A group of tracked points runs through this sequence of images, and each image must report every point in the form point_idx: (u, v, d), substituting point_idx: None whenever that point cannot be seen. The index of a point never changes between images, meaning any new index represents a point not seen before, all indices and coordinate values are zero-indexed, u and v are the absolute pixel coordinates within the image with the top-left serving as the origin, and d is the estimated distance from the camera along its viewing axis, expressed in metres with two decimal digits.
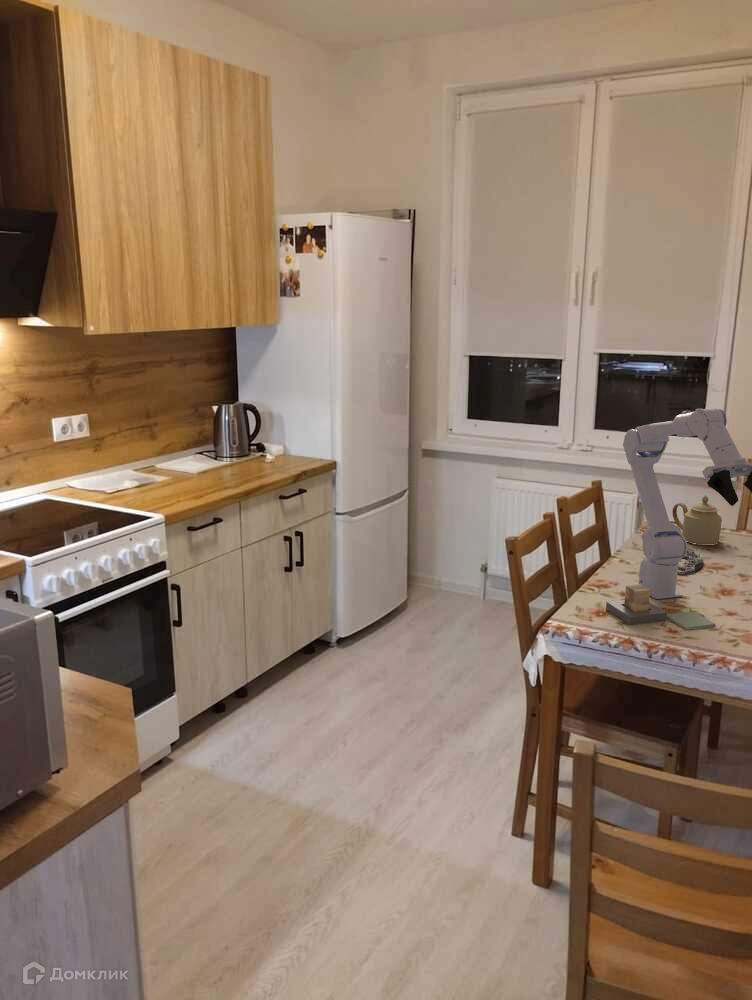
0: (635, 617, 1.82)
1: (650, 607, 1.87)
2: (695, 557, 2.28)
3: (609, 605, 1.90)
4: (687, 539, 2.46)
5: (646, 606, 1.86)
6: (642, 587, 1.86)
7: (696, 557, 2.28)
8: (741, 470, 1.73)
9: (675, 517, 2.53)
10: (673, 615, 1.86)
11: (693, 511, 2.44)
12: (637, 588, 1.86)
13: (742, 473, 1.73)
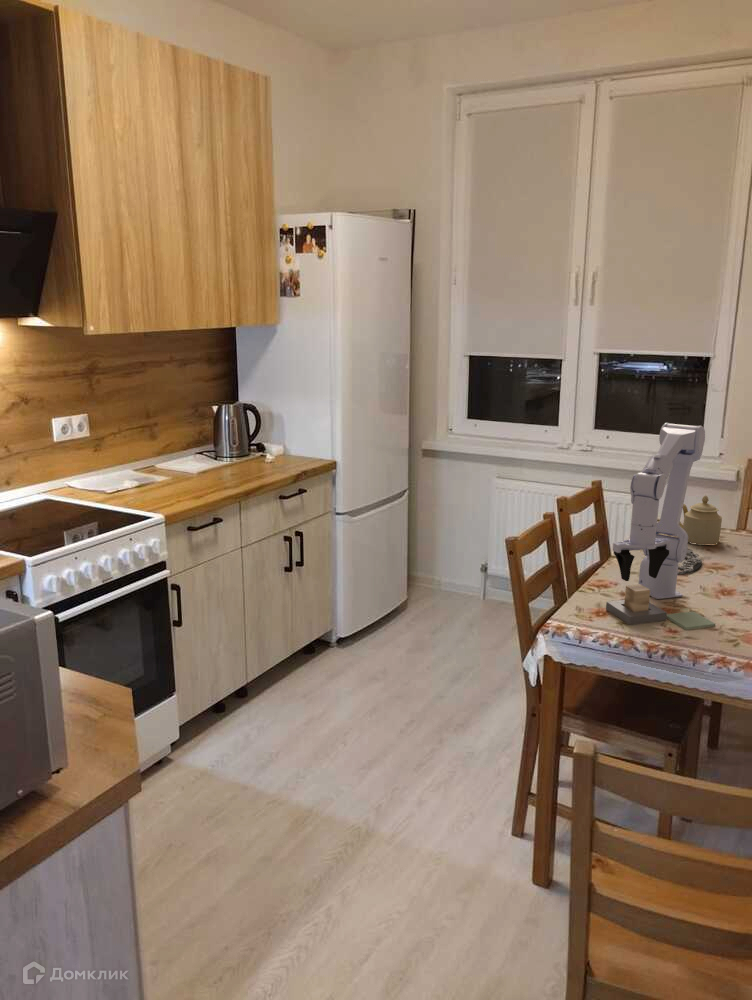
0: (635, 617, 1.82)
1: (650, 607, 1.87)
2: (693, 557, 2.28)
3: (609, 605, 1.90)
4: None
5: (646, 606, 1.86)
6: (642, 587, 1.86)
7: (694, 557, 2.28)
8: None
9: None
10: (673, 615, 1.86)
11: (693, 511, 2.44)
12: (637, 588, 1.86)
13: None
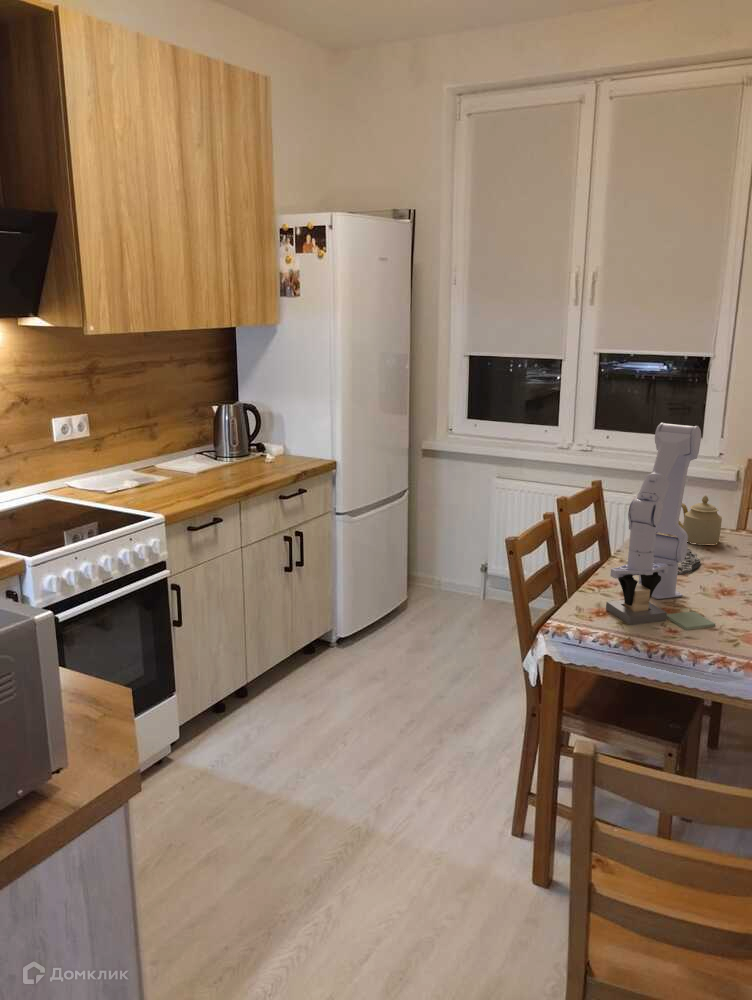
0: (635, 617, 1.82)
1: (650, 607, 1.87)
2: (692, 557, 2.28)
3: (609, 605, 1.90)
4: None
5: (646, 606, 1.86)
6: (642, 587, 1.86)
7: (693, 557, 2.28)
8: None
9: None
10: (673, 615, 1.86)
11: (693, 511, 2.44)
12: (637, 588, 1.86)
13: None
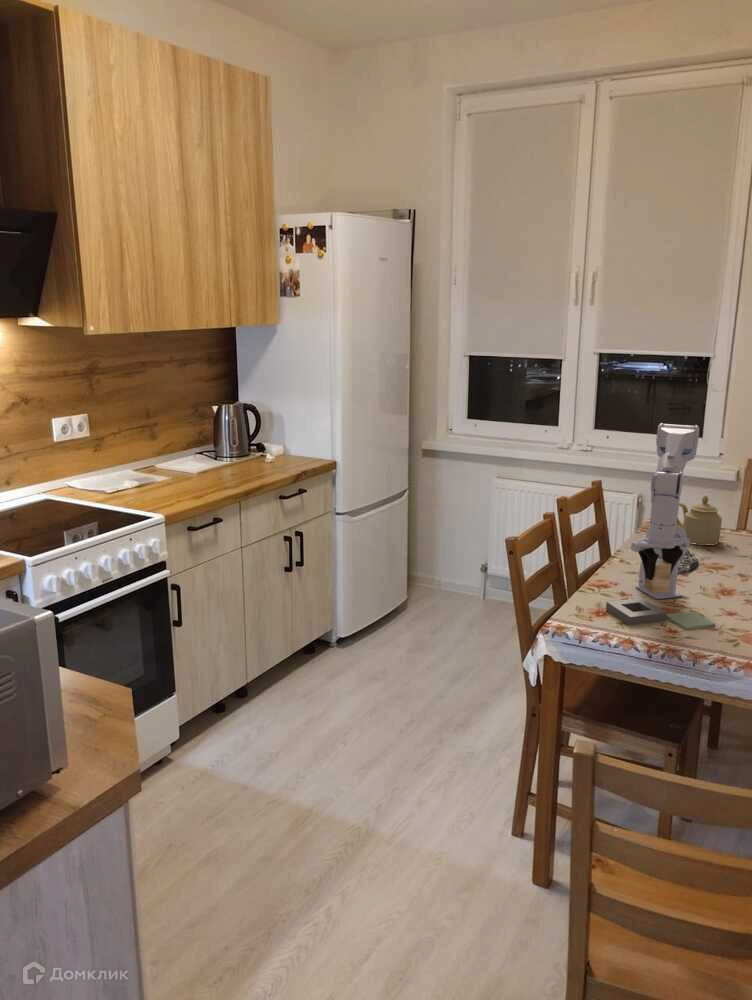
0: (635, 617, 1.82)
1: (650, 607, 1.87)
2: (690, 556, 2.29)
3: (609, 605, 1.90)
4: None
5: (667, 581, 1.83)
6: (663, 561, 1.83)
7: (691, 556, 2.29)
8: None
9: None
10: (673, 615, 1.86)
11: (693, 511, 2.44)
12: (658, 562, 1.83)
13: None
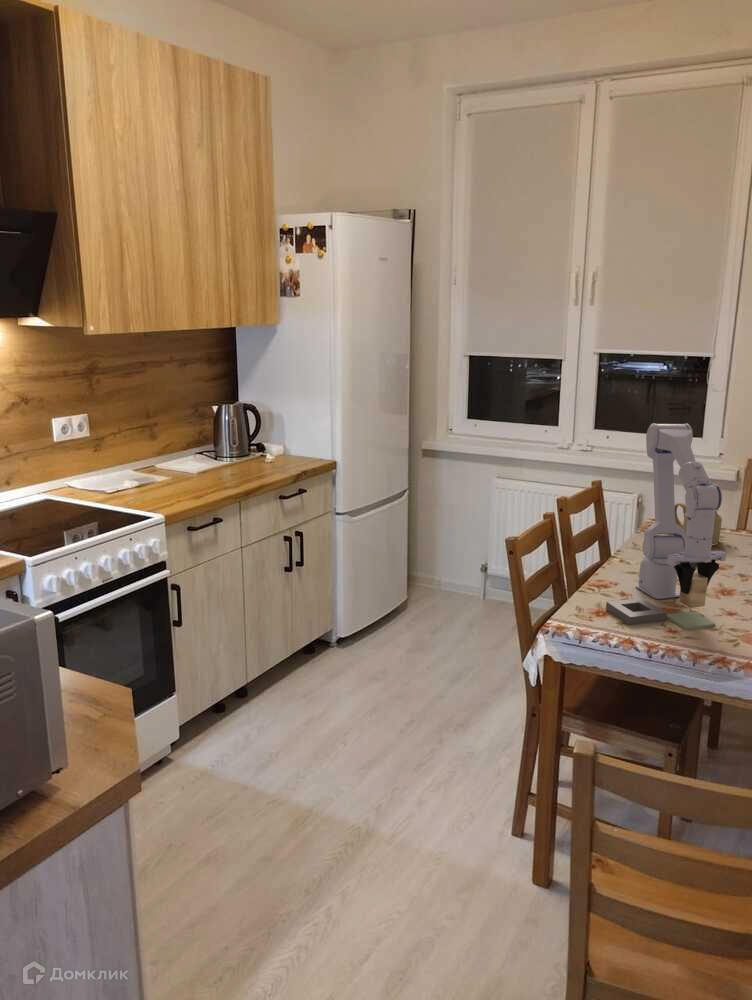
0: (635, 617, 1.82)
1: (650, 607, 1.87)
2: None
3: (609, 605, 1.90)
4: None
5: (703, 595, 1.81)
6: (699, 575, 1.82)
7: None
8: None
9: (675, 517, 2.53)
10: (673, 615, 1.86)
11: None
12: (694, 576, 1.81)
13: None
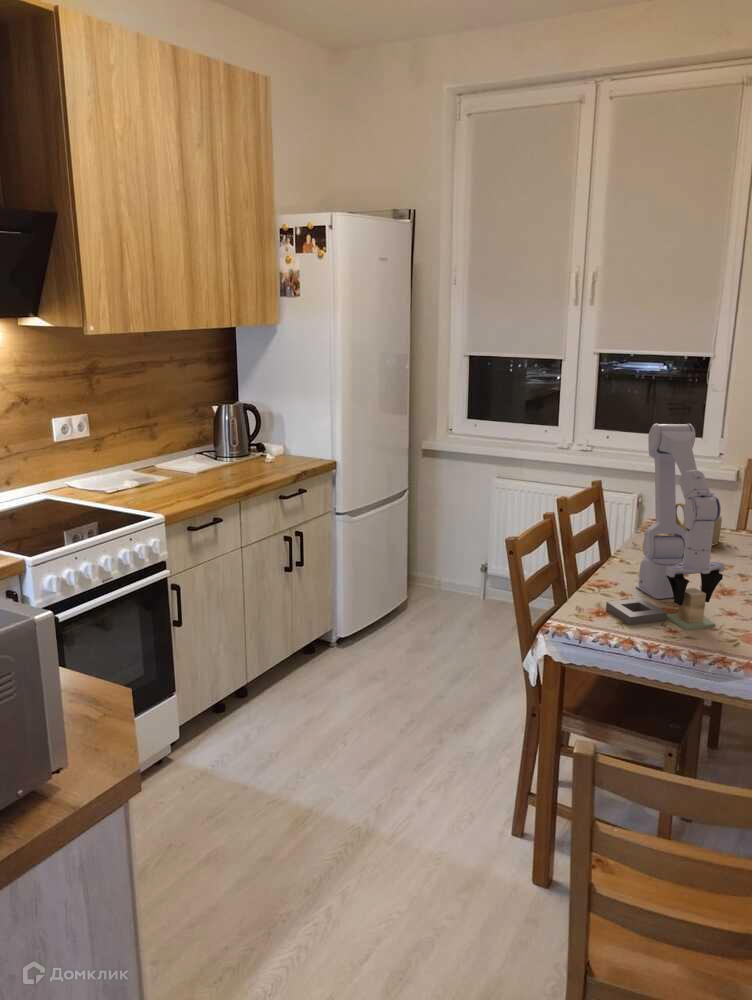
0: (635, 617, 1.82)
1: (650, 607, 1.87)
2: None
3: (609, 605, 1.90)
4: None
5: (702, 610, 1.82)
6: (697, 591, 1.82)
7: None
8: None
9: None
10: (673, 615, 1.86)
11: None
12: (693, 592, 1.82)
13: None
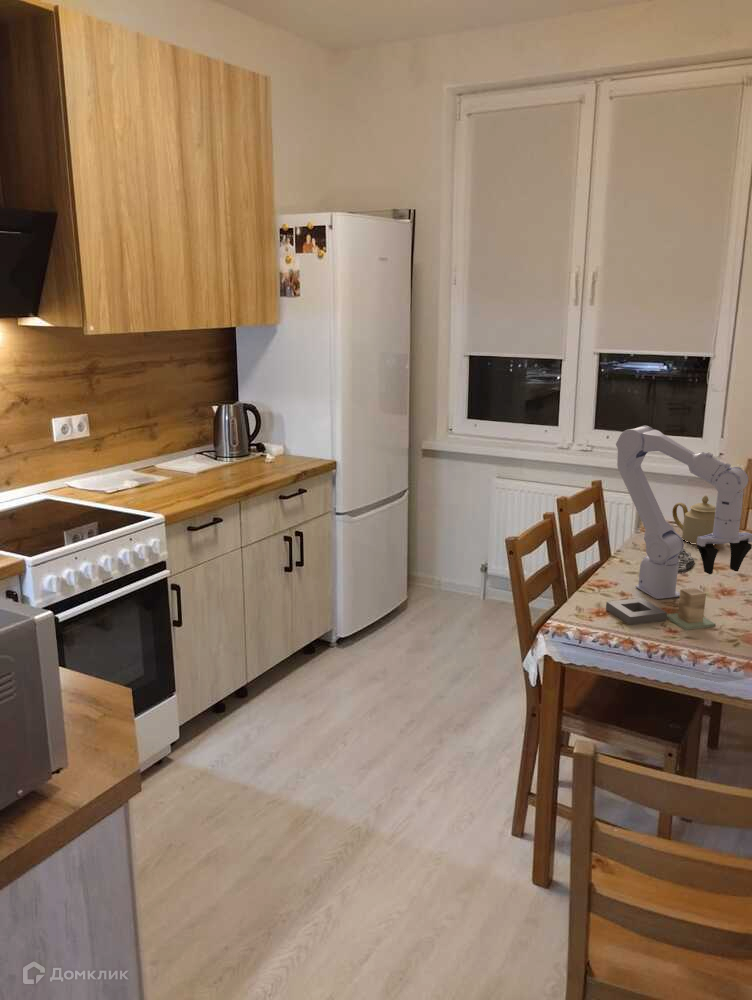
0: (635, 617, 1.82)
1: (650, 607, 1.87)
2: (686, 556, 2.29)
3: (609, 605, 1.90)
4: (687, 539, 2.46)
5: (702, 610, 1.82)
6: (697, 591, 1.82)
7: (687, 556, 2.29)
8: None
9: (675, 517, 2.53)
10: (673, 615, 1.86)
11: (693, 511, 2.44)
12: (693, 592, 1.82)
13: None
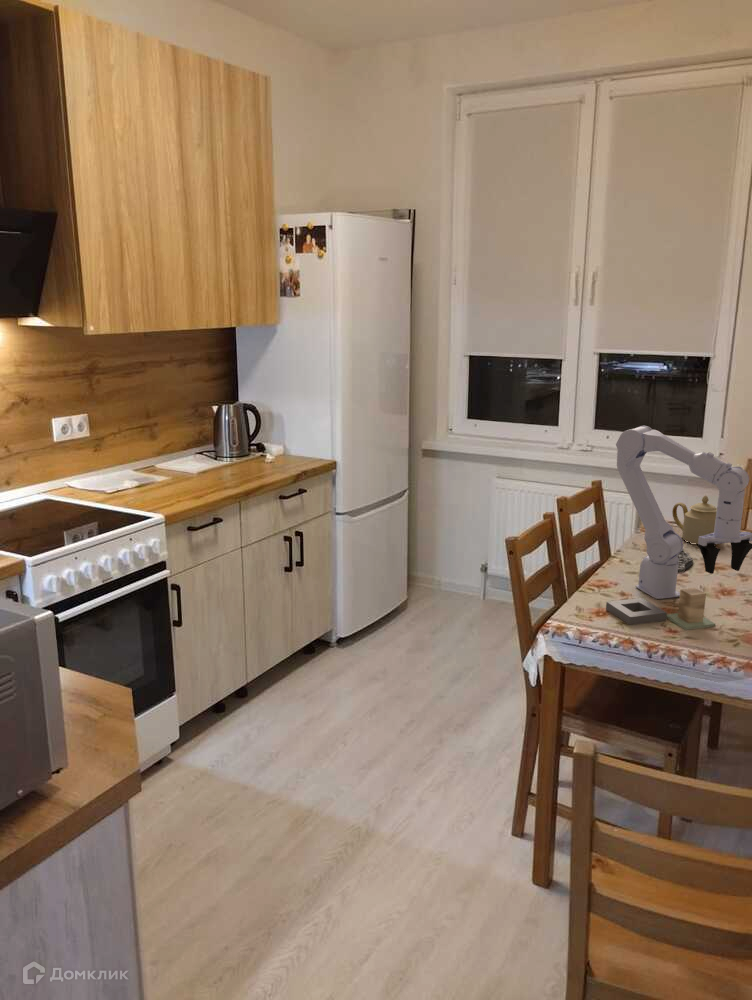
0: (635, 617, 1.82)
1: (650, 607, 1.87)
2: (685, 556, 2.29)
3: (609, 605, 1.90)
4: (687, 539, 2.46)
5: (702, 610, 1.82)
6: (697, 591, 1.82)
7: (685, 555, 2.29)
8: None
9: (675, 517, 2.53)
10: (673, 615, 1.86)
11: (693, 511, 2.44)
12: (693, 592, 1.82)
13: None
